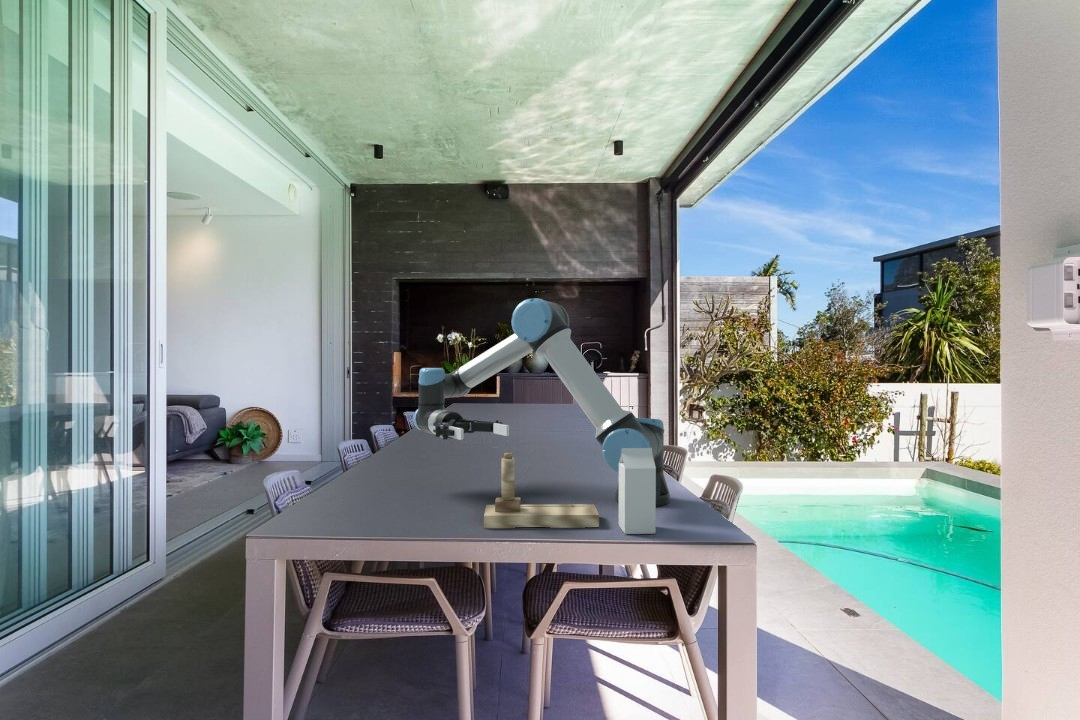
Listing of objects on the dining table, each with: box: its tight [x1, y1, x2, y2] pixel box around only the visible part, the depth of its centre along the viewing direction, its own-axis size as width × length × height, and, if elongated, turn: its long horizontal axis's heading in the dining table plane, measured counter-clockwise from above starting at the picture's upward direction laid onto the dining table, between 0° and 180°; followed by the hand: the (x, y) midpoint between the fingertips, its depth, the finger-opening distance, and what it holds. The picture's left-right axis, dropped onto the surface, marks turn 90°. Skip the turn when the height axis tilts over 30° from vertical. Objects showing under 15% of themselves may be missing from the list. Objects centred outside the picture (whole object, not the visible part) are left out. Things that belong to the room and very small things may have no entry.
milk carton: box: [618, 448, 657, 535], centre depth 137 cm, size 7×7×19 cm
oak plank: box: [483, 503, 600, 529], centre depth 143 cm, size 27×10×3 cm, turn 92°
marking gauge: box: [494, 452, 521, 512], centre depth 143 cm, size 6×4×14 cm, turn 92°
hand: (485, 432), depth 151 cm, fingers open, 13 cm apart
